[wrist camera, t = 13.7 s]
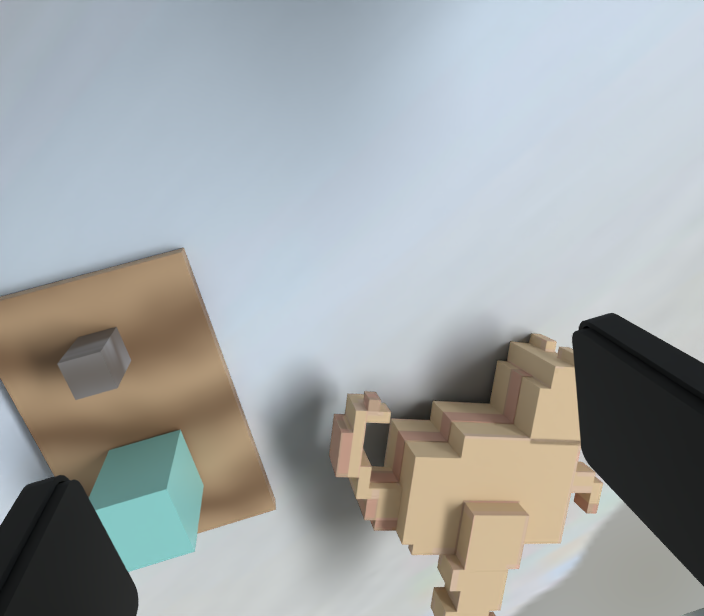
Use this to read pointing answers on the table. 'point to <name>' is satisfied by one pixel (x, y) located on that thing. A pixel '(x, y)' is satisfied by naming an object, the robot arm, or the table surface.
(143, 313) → the stand
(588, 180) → the table surface
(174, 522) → the teal block
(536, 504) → the toy
